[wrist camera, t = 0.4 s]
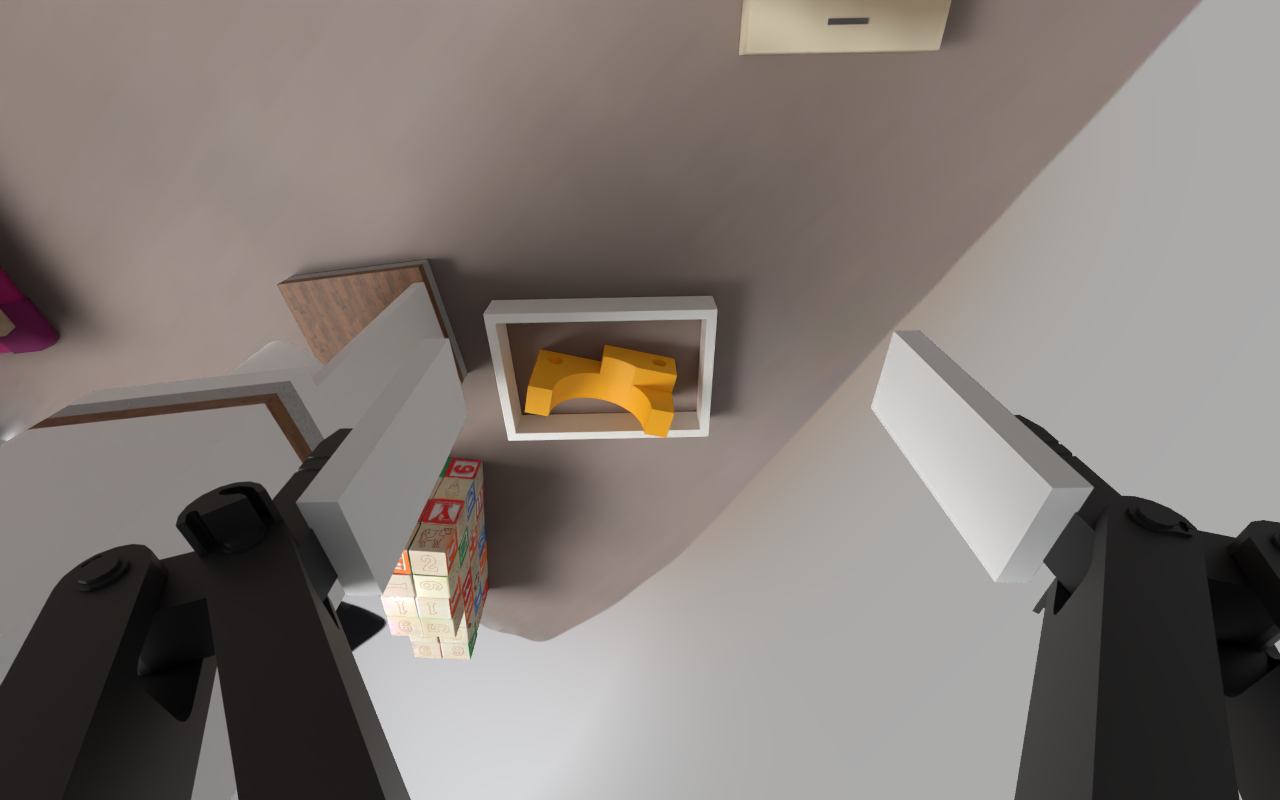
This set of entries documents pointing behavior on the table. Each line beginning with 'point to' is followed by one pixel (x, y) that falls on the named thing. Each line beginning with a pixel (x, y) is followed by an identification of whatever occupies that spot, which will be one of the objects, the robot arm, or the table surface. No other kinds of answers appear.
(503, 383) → the clamp rest frame
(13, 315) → the book
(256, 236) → the table surface
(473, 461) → the stack of blocks
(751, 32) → the pine board
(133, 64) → the table surface
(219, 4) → the table surface
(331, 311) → the white column with cutout
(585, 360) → the pipe clamp
